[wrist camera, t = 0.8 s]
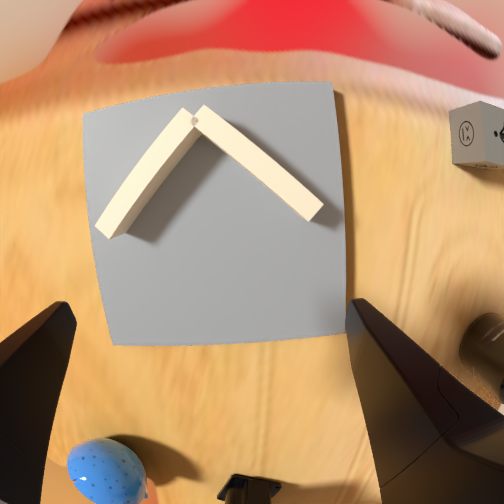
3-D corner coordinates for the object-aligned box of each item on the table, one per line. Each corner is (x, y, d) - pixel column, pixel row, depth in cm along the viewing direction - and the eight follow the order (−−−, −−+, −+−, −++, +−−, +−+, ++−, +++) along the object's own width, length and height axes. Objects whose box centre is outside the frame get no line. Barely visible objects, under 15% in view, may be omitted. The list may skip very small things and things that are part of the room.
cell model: (74, 450, 30) (46, 496, 21) (96, 406, 28) (60, 462, 19) (137, 486, 31) (119, 536, 22) (172, 451, 29) (154, 514, 20)
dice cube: (487, 169, 23) (520, 169, 18) (451, 163, 23) (485, 161, 18) (484, 121, 22) (516, 114, 17) (448, 111, 22) (479, 100, 17)
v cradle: (340, 325, 26) (355, 350, 21) (119, 337, 26) (99, 361, 22) (327, 87, 22) (342, 68, 17) (91, 117, 22) (63, 106, 18)
